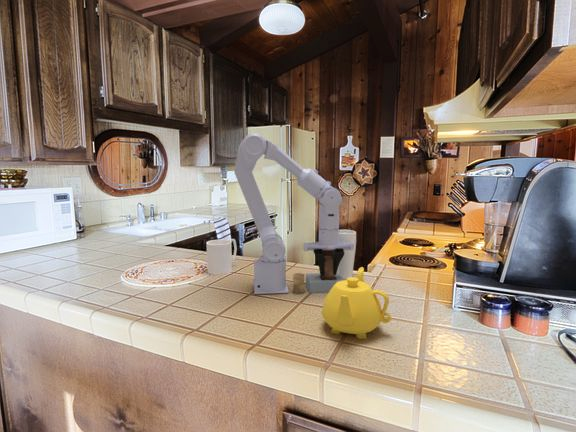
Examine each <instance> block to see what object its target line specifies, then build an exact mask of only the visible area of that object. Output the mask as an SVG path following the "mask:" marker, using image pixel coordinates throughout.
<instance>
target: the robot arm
mask: <svg viewBox="0 0 576 432" xmlns="http://www.w3.org/2000/svg"><path fill="white" fill-rule="evenodd" d="M262 156H264V157H263V159H265V160H269V161H274V162H276V163H277V164H278V165H280V166H281V167H282V168H284V169H285V170H286V171H287V172H289V173H291V175H293V176H294V177H295V178H296V184H297V185H298V186H299V187H300V188H302V189H303V190H304V191H305V192H306V193H308V194H309V195H310V196H311V197H313V198H314V199H317V201H318V203H319V213H318V241H316V242H315V241H313V242H303V243H302V245H303V246H302V249H303V251H304V252H308V251H313V253H314V255H315V259H316V263H317V266H318V270H319V273H320V274H321V275H323V274H324V269H323V262H324V256H325V253H324V251H332V257H334V275H336V274H337V269H338V266H339V264H340V261H341V259H342V258H343V256H344V251H343V250H354V243H352V242H339V230H340V206H341V203H342V202H343V197H342V194H341V192H340V190H339V189H338V188H336V187H333V186H332V182H331V181H329V180H325V178H323V177H322V176H321V175H320V174H318V173H319V171H318V170H317V169H312V168H309V167H308V168H304V167H302V166H301V165H300V164H299V163H297V162H296V161H295V160H294V159H293V158H292V157H290V156H289V155H288V154H287V153H286V152H285V151H284V150H282V149H281V148H280V147H279V146H278V145H276V144H275V143H273V142H272V141H270V140H268V139H266V140H265V138H264V137H263V136H262V135H260V134H258V133H256V132H255V133H254V132H253V133H252V132H251V133H249V134H247V135H246V136H245V137H244V138H243V139H242V140H241V142H240V144H239V147H238V150H237V155H236V159H235V163H234V164H235V165H234V171H233V172H234V175H235V177H236V179H237V180H236V181H237V182H238V185H239V187H240V190H241V193H242V195H243V198H244V200H245V202H246V205H247V207H248V209H249V212H250V215H251V218H252V219H253V223H254V224H255V227H256V228H257V231H258V235H259V238H260V242H261V246H262V255H261V256H260V258H258V259H253V279H252V285H253V289H254V290H253V291H254V293H253V294H255V295H261V294H262V295H266V294H268V295H269V294H288V293H289V288H288V284H287V267H286V266H287V258H286V256H285V255H286V246H285V243H284V240H283V238H282V237H281V236H280V235H279V233H278V232H277V231H276V229H275V227H274V224H273V222H272V219H271V217H270V214H269V212H268V209H267V206H266V205H265V202H264V199H263V197H262V194H261V192H260V189H259V186H258V184H257V181H256V179H255V176H254V173H253V171H254V169H255V167H256V166H257V165H256V164H257V162H258V161H259V159H260V158H261V157H262Z"/></svg>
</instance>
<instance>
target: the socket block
mask: <svg viewBox="0 0 576 432" xmlns="http://www.w3.org/2000/svg"><path fill="white" fill-rule="evenodd" d="M339 281H343V279H342V277H341V276H340V275H339V273H337V274H336V275H334V280H323V275H321V274H320V272H319V273H318V272H317V273H305V285H306V287H307V290H308V292H309V294H314V293H315V294H317V293H329V291H330V290H331V289H332V287H333V286H334V285H335V284H336V283H337V282H339Z"/></svg>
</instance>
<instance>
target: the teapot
mask: <svg viewBox="0 0 576 432" xmlns="http://www.w3.org/2000/svg"><path fill="white" fill-rule="evenodd" d="M356 272H357V273H356V276H353V277H349V278H347V280H343V281H339V282H337V283H336V284H335V285H334V286H333V287H332V289H331V290H330V291H329V292H327V294H326V296H325V299H324V301H323V305H322V307H321V314H322V315H321V316H322V318H323V319H324V321H325V322H326V324H327V325H328V326H329V327H330V328H331V329H330V333H331V334H333V335H340V334H341V333H345V334H351V335H355V337H356V338H357V339H359V340H366V339H367V338H368V335H367V333H370V332H373V331H374V330H375V329H376V328H377V327H378V326H379V325H380V324H381V323H383V324H388V323H390V322H391V321H392V315H391V313H388V312H386V311H387V309H388V306H389V302H390V298H389V295H388V294H387V292H385V291H383V290H380V289H373V288H372V286H371V285H370V284H368V283H366V282H365V281H364V280H365V279H364V272H365V268H364V267H363V266H361V267H359V268H358V269H357V271H356ZM377 295H380V296H382V297H383V299H384V303H383V307H382V305H381V302H380V299H379V298H378V296H377ZM386 317H387V318H386Z"/></svg>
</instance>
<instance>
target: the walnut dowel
mask: <svg viewBox="0 0 576 432" xmlns="http://www.w3.org/2000/svg"><path fill="white" fill-rule="evenodd" d="M323 269H324V274H323V280H334V257H333V255H332V256H331V255H324V262H323Z"/></svg>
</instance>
